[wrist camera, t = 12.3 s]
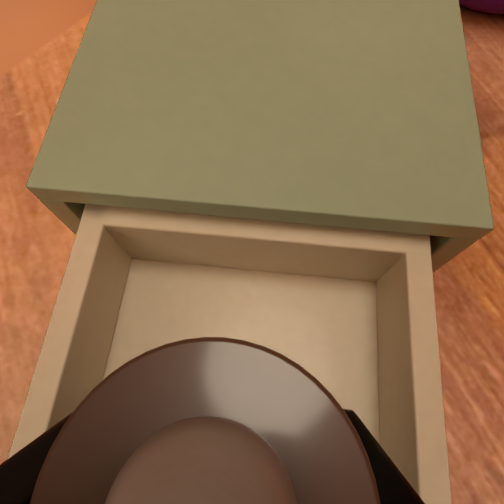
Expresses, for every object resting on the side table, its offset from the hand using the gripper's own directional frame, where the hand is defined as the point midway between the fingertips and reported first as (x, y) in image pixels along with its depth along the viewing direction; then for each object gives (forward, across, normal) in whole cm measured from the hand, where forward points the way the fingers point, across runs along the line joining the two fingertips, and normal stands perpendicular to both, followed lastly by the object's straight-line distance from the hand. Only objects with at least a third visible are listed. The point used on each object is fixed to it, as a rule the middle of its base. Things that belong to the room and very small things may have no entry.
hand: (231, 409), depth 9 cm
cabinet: (+13, 0, -5) cm, 14 cm away
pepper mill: (+2, 0, +4) cm, 4 cm away
